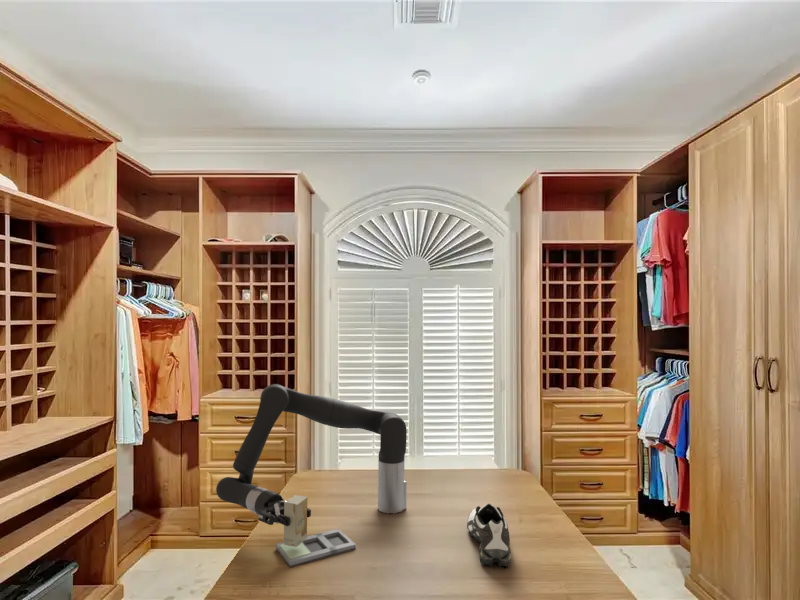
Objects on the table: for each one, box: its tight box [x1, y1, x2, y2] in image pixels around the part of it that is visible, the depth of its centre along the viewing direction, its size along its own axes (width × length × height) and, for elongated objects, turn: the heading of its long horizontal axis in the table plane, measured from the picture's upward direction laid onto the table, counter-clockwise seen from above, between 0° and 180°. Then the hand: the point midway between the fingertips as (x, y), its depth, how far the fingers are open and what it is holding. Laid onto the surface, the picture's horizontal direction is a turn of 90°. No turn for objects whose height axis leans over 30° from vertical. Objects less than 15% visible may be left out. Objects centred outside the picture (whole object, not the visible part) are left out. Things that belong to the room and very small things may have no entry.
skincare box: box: [283, 494, 308, 547], centre depth 144 cm, size 6×4×12 cm
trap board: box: [275, 528, 357, 568], centre depth 148 cm, size 20×12×2 cm, turn 122°
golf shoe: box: [466, 502, 512, 568], centre depth 152 cm, size 12×30×14 cm, turn 4°
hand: (299, 517), depth 143 cm, fingers closed on skincare box, 7 cm apart
